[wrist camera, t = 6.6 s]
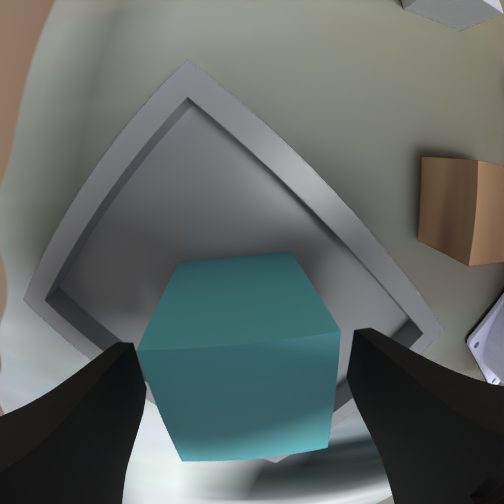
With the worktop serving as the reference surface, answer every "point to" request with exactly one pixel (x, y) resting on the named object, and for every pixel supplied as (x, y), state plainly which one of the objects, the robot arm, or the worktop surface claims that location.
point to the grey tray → (212, 228)
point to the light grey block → (455, 11)
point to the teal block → (242, 359)
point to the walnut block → (462, 209)
